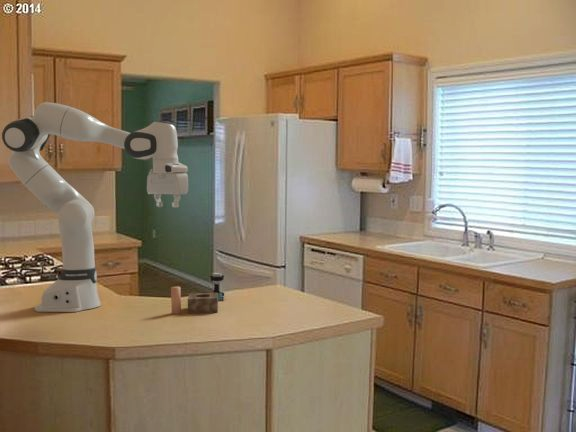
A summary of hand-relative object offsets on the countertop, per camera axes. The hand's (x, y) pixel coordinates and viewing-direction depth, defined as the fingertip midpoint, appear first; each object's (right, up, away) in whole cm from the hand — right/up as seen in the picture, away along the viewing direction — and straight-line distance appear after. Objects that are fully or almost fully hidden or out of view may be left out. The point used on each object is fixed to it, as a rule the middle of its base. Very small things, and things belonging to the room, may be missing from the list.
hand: (167, 207), depth 220 cm
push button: (+16, -35, +17) cm, 42 cm away
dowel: (+4, -37, -6) cm, 37 cm away
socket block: (+13, -36, -1) cm, 38 cm away
